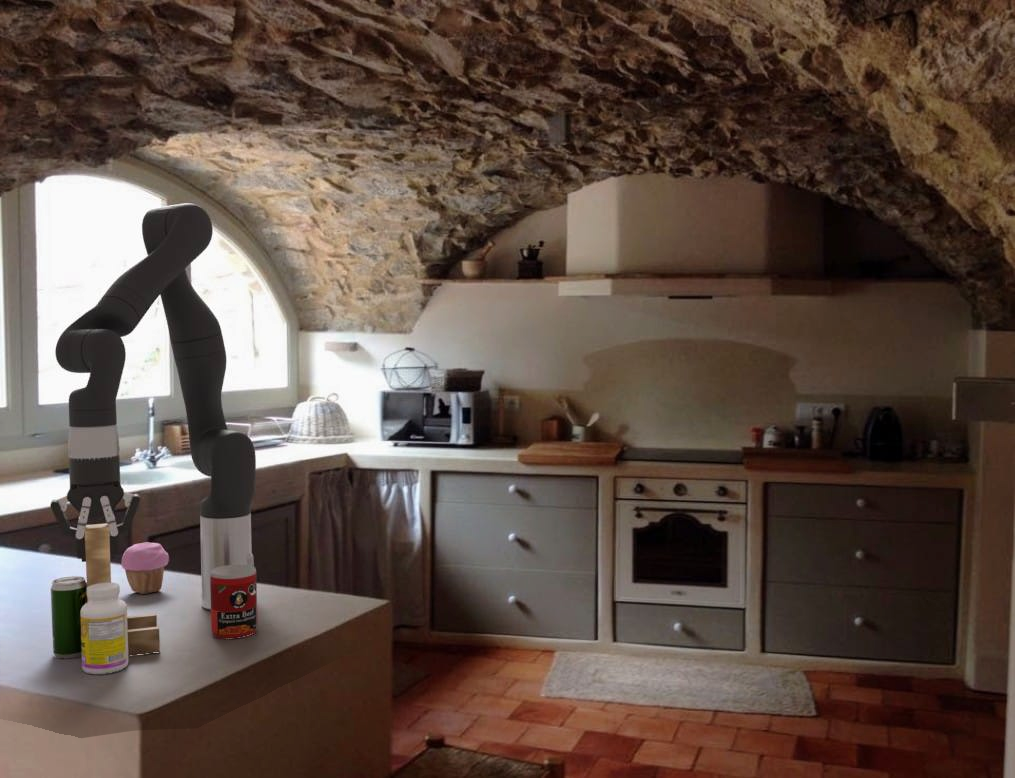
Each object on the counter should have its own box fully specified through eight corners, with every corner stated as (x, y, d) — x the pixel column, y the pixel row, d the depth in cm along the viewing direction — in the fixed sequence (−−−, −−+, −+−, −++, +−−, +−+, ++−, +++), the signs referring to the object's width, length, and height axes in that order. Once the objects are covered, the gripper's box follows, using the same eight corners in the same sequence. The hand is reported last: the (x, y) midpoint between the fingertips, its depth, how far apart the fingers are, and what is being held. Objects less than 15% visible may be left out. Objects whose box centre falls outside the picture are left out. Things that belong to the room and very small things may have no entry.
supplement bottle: (90, 662, 156) (88, 581, 155) (133, 660, 157) (131, 580, 156) (75, 676, 149) (73, 592, 149) (121, 675, 150) (118, 591, 149)
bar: (113, 637, 164) (108, 523, 163) (113, 643, 160) (109, 527, 159) (89, 640, 162) (85, 525, 161) (89, 646, 159) (84, 529, 158)
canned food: (216, 642, 166) (215, 577, 165) (207, 629, 173) (205, 567, 172) (262, 635, 169) (261, 571, 169) (251, 623, 176) (250, 562, 176)
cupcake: (177, 590, 200) (176, 541, 199) (139, 600, 192) (138, 549, 192) (151, 584, 205) (149, 536, 204) (112, 593, 198) (111, 543, 197)
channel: (156, 636, 169) (156, 613, 169) (159, 652, 160) (159, 628, 160) (92, 643, 165) (92, 620, 165) (92, 660, 156) (91, 635, 156)
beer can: (55, 661, 156) (52, 586, 156) (51, 652, 161) (48, 579, 160) (92, 655, 159) (89, 581, 158) (86, 646, 164) (84, 574, 163)
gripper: (140, 448, 166) (143, 550, 167) (46, 453, 160) (50, 558, 161) (142, 453, 159) (145, 560, 160) (44, 458, 153) (48, 569, 154)
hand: (97, 559), depth 161 cm, fingers closed on bar, 3 cm apart
